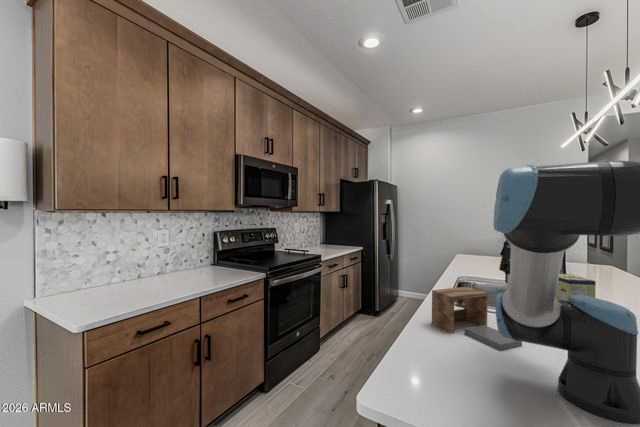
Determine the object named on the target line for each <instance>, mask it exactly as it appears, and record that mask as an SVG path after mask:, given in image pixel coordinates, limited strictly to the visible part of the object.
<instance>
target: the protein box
mask: <svg viewBox="0 0 640 427" xmlns="http://www.w3.org/2000/svg"><path fill="white" fill-rule="evenodd" d="M570 295H582V296H588V297H593V298H596V280H593V279H590V278H585V277H582V276H579V275H575V274H572V273H560V275H559V280H558V285H557V289H556V294H555V297H556V298H557V300H564V301H568V300H567V298H568V297H569V296H570Z"/></svg>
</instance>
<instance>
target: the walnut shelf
mask: <svg viewBox="0 0 640 427" xmlns="http://www.w3.org/2000/svg"><path fill="white" fill-rule="evenodd" d="M488 296H489V294H488V292H487V291H483V290H479V289H476V288H473V287H469V286H460V287H458V286H457V287H448V288H442V289H432V290H431V325H433V326H436V327H437V328H440V329H441V330H444V331H446V332H448V333H450V334H455V332H454V331H455V329H454V328H455V327H454V326H455V322H459V321H464V320H466V321H469V322H471V323H474V324H476V325H478V326H481V325H485V326H488V305H489V304H488V302H489V300H488V298H489V297H488ZM455 300H456V301H457V300H463V308H460V309H455Z"/></svg>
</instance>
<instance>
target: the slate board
mask: <svg viewBox="0 0 640 427" xmlns="http://www.w3.org/2000/svg"><path fill="white" fill-rule="evenodd" d="M463 332H464V335H466V336H468V337H470V338H472V339H474V340H475V341H478V342H480V343H483V344H485V345H486V346H489V347H492V348H494V349H496V350H498V351H500V352H503V351H507V350H511V349H512V350H513V349H516V348H519V347H522V346H523V342H522V341H514V340H513V339H509V338H505V337H503V336H502V335H501V334H500V333H499V330H498V329H495V328H493V327H491V326H488V325H487V326H485V325H477V326H472V327H466V328H464V331H463Z"/></svg>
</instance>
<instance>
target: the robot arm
mask: <svg viewBox="0 0 640 427" xmlns="http://www.w3.org/2000/svg"><path fill="white" fill-rule="evenodd" d="M497 183H498V184H497V187H496V192H495V194H496V195H495V203H494V210H493V229H494V231H496V232H500V233H501V234H503V236H504V238H505V240H506V241H504V242H503V251H502V255H501V261H500V263H499V268H498V270H499V271H501V272H503V273H504V274H505V275H504V276H505V280H504V281H505V283H506V284H507V286H506V290H504V291H503V292H502V291H501V292H498V293H497V294H496V296H495V318H496V326H497V330H498V331H499V333H500V334H501V335H502V336H503V337H505V338H509V339H513V340H514V341H522V343H523V342H524V343H529V344H533V345H538V346H539V345H540V346H544V347H549V348H552V349H553V348H554V349H560V350H563V351H567V358H566V362H565V363H564V365H563V368H562V370H561V372H560V374H559V376H558V378H557V379H558V380H557V390H558V392H559V393H560V395H561V396H562V397H563V398H565V399H566V400H567V401H568V402H570V403H571V404H573V405H575V406H576V407H579V408H580V409H582V410H583V411H586V412H588V413H590V414H594V415H595V416H599V417H602V418H605V419H608V420H612V421H617V422H621V423H627V424H640V384H639V380H638V379H637V364H638V363H637V361H638V360H637V359H638V358H637V357H638V352H637V350H638V335H639V330H638V322H637V316H636V315H635V313H634V312H633V311H631V310H630V309H628V308H626V307H624V306H622V305H619V304H617V303H614V302H611V301H607V300H603V299H601V298H597V297H595V298H593V297H588V296H582V295H570V296H569V297H568V298H567V300H568V301H564V300H557V298H556V297H555V294H556V289H557V285H558V280H559V275H560V274H561V268H562V265H563V259H564V255H565V251H568V249H570V248H572V247H573V246H574V245H575V244H577V242H578V240H579V238H580V236H595V237H596V236H598V237H604V236H605V237H623V236H624V237H625V236H632V235H638V234H640V161H633V160H632V161H631V160H605V161H590V162H588V161H587V162H579V163H578V162H577V163H576V162H575V163H563V164H562V163H561V164H549V165H546V164H545V165H535V164H529V165H528V164H526V165H524V166H516V167H509V168H506V169H505V170H503V172H501V174H500V176H499V180H498V182H497Z"/></svg>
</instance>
